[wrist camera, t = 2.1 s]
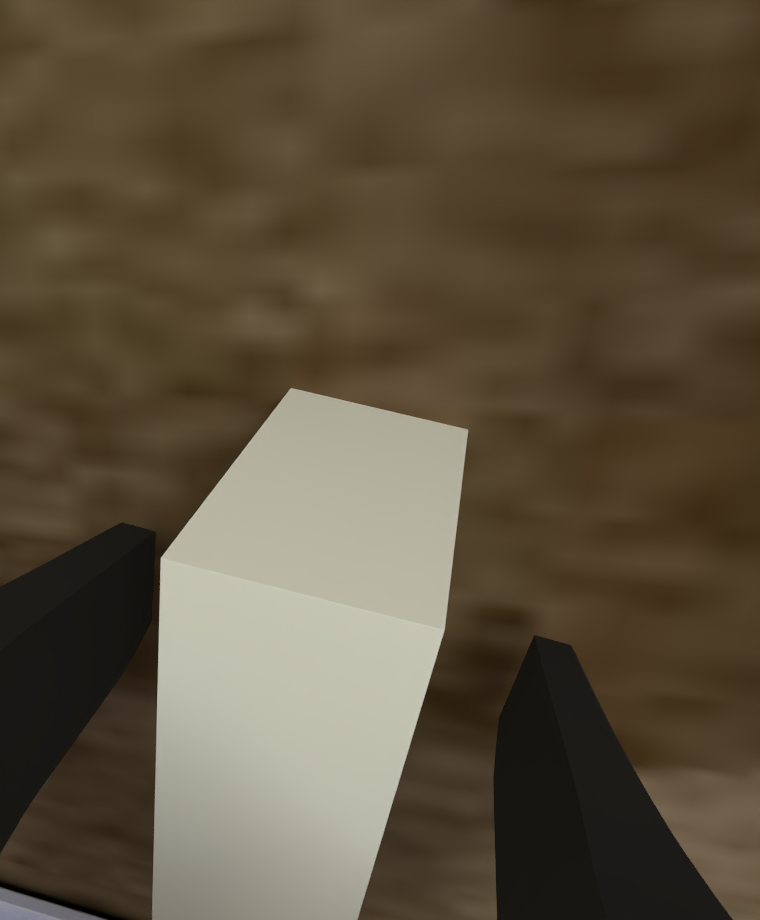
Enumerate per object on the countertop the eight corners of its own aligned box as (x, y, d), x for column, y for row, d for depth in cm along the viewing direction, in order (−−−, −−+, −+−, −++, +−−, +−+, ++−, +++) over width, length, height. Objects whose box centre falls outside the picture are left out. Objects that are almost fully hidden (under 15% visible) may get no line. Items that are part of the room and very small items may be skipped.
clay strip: (354, 847, 17) (301, 1104, 13) (240, 815, 17) (148, 1058, 13) (468, 424, 11) (444, 629, 7) (294, 384, 11) (159, 557, 7)
